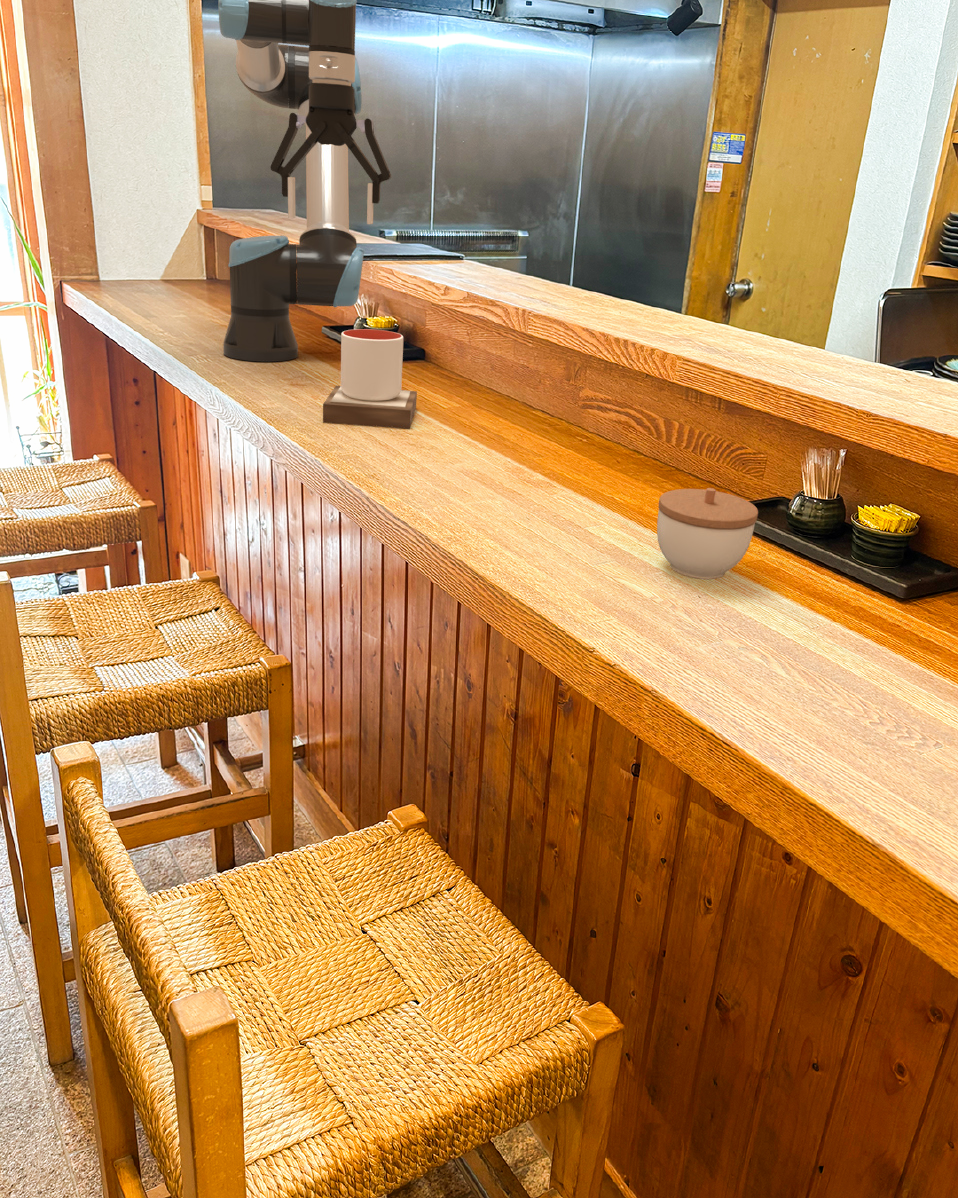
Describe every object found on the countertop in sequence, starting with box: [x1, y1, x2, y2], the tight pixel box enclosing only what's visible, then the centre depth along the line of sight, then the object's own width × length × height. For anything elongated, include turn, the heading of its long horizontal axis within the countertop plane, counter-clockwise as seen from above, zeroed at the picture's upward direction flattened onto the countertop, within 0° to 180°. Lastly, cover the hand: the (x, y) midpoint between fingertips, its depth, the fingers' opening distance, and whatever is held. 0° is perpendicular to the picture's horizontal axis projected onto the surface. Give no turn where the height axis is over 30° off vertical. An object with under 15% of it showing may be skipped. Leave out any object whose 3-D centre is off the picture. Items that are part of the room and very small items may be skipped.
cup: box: [340, 328, 404, 401], centre depth 160 cm, size 10×10×10 cm
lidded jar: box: [656, 487, 759, 580], centre depth 108 cm, size 11×11×9 cm
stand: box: [322, 385, 418, 430], centre depth 163 cm, size 14×14×3 cm
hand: (330, 220), depth 170 cm, fingers open, 13 cm apart
